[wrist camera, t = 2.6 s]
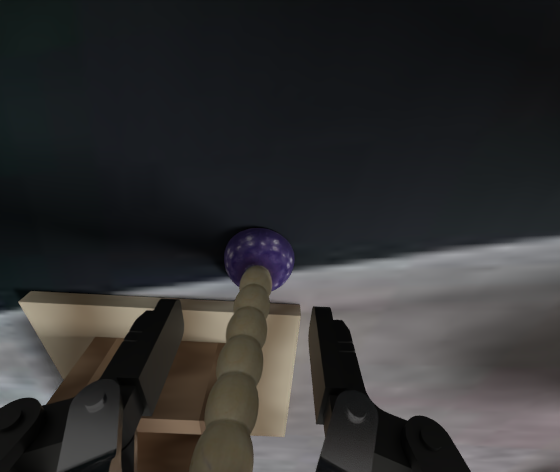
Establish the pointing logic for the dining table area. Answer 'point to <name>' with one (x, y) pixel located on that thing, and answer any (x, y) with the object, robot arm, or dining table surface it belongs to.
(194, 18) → the dining table surface
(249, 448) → the toy lamp
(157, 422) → the socket board
